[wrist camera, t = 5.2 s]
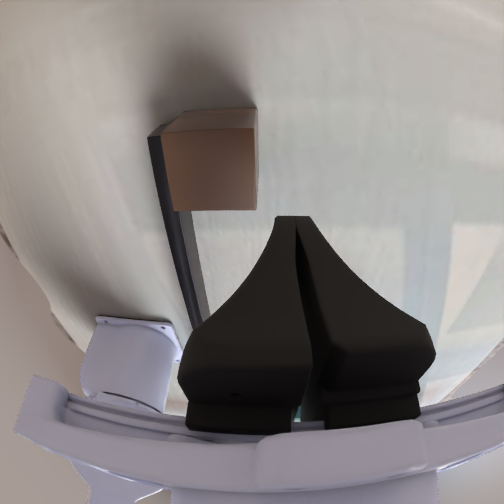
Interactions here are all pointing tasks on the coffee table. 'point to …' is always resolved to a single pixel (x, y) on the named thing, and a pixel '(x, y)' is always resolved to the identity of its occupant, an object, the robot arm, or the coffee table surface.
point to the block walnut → (213, 159)
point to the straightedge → (179, 237)
